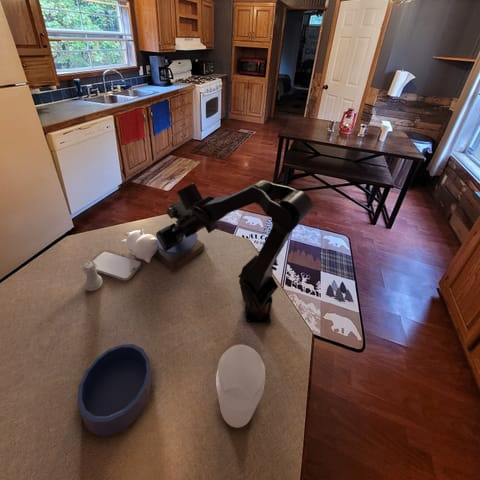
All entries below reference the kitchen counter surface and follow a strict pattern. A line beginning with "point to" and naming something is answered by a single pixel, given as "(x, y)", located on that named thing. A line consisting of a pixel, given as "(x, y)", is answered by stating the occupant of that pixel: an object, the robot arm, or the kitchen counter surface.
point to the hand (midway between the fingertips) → (174, 233)
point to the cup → (239, 384)
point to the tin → (115, 389)
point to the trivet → (179, 256)
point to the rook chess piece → (92, 277)
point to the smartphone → (116, 265)
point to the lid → (181, 244)
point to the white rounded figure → (141, 244)
